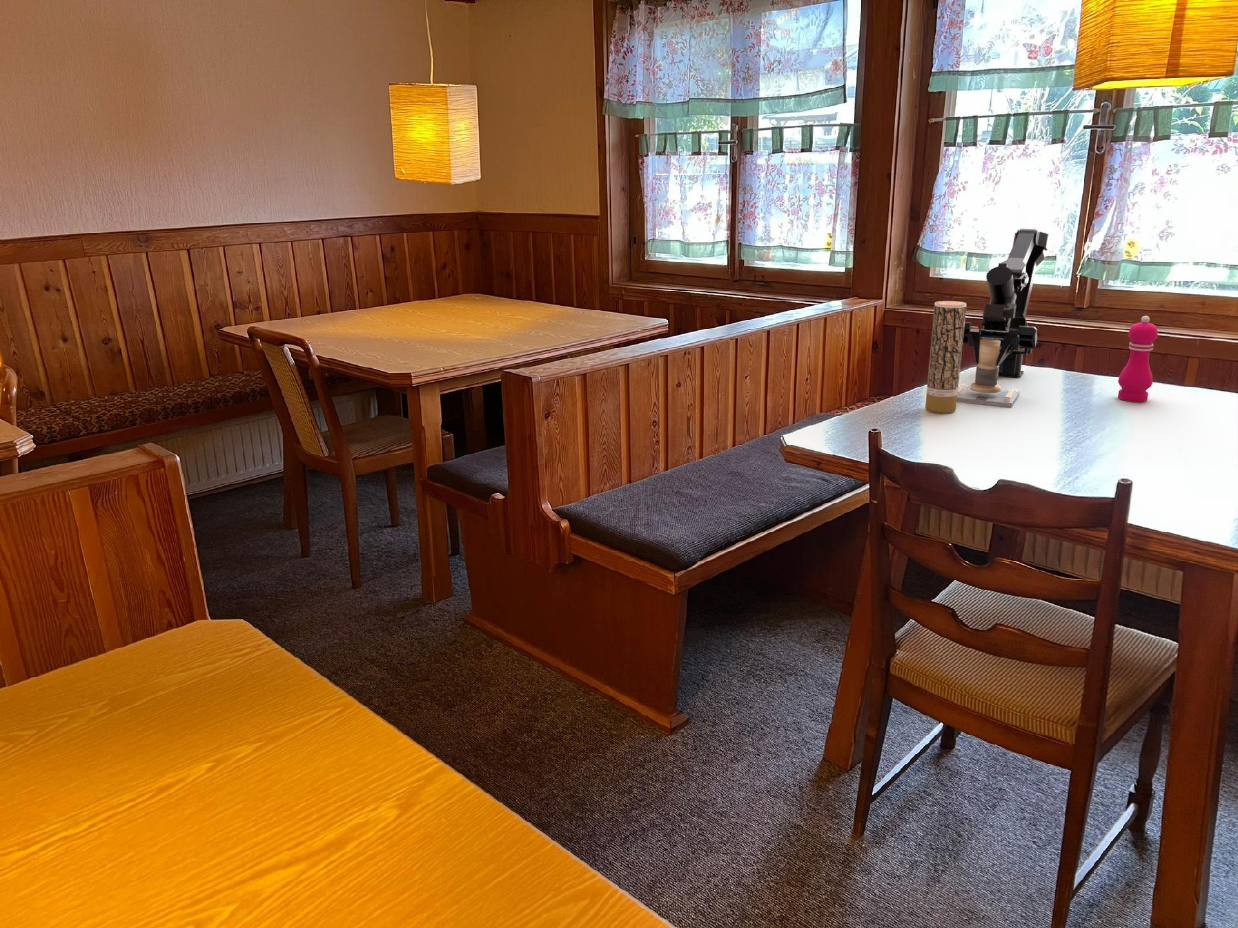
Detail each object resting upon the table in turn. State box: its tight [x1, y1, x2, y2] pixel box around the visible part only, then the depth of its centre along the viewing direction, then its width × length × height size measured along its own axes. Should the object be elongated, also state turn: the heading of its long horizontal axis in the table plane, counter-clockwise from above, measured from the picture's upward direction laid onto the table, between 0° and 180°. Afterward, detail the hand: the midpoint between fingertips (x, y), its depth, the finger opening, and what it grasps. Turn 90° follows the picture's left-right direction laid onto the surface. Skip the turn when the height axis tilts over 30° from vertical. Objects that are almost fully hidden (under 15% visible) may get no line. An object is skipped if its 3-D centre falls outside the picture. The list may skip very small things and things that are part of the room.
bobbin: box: [969, 338, 1002, 393], centre depth 218 cm, size 7×7×12 cm
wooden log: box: [925, 300, 967, 414], centre depth 208 cm, size 7×7×25 cm
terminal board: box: [957, 383, 1021, 408], centre depth 221 cm, size 12×14×2 cm
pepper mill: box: [1117, 315, 1159, 403], centre depth 215 cm, size 7×7×20 cm
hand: (987, 364), depth 217 cm, fingers closed on bobbin, 4 cm apart
